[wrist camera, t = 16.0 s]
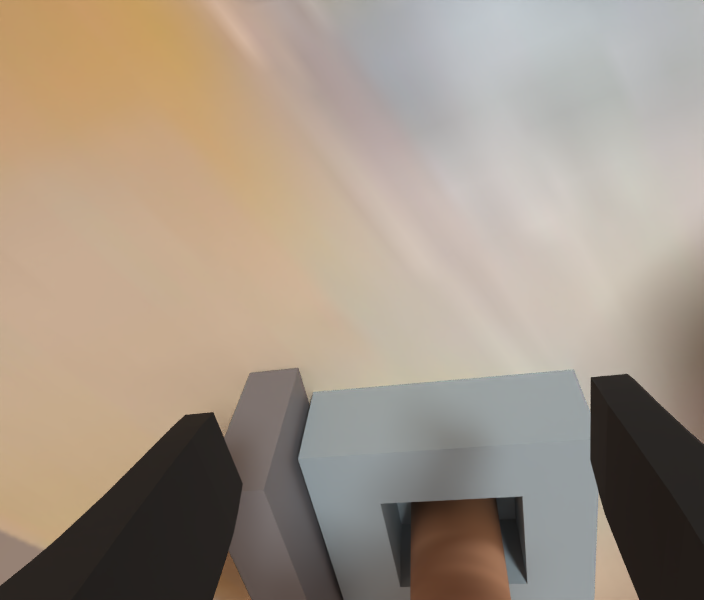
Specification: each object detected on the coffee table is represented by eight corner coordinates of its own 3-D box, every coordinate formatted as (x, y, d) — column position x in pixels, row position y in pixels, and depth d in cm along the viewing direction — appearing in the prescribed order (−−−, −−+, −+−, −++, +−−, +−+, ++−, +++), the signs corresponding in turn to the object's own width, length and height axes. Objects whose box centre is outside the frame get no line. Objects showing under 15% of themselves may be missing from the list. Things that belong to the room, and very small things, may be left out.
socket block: (570, 362, 22) (600, 438, 18) (570, 534, 27) (593, 619, 23) (314, 385, 23) (298, 459, 20) (358, 542, 28) (351, 623, 25)
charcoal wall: (298, 368, 22) (263, 489, 17) (357, 561, 28) (344, 695, 23) (249, 373, 23) (201, 494, 18) (318, 563, 29) (296, 695, 24)
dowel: (480, 453, 23) (503, 626, 17) (504, 509, 25) (533, 685, 19) (399, 471, 24) (394, 641, 18) (427, 524, 26) (430, 696, 20)
